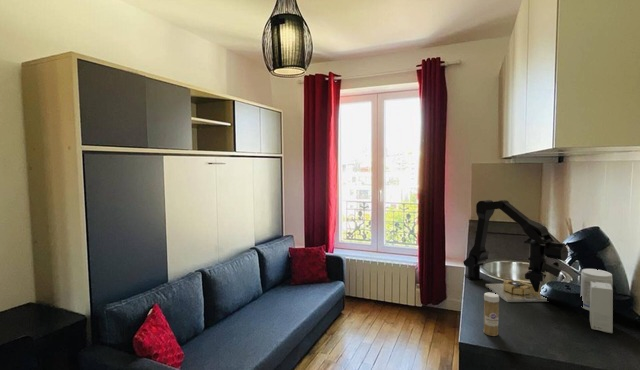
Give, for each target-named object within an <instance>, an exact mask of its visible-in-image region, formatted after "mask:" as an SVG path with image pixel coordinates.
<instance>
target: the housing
mask: <svg viewBox="0 0 640 370" xmlns="http://www.w3.org/2000/svg"><path fill="white" fill-rule="evenodd" d="M518 282H519V281H513V282H512V285H513V286H515V288H520V287H521V283H518ZM485 287H486V288H487V289H488V288H489V291H491V290H492V291H491V292H492V293H496V294H498V295H499V298H501V299H502V300H504V301H506V302H507V303H526V302H527V303H528V302H529V303H530V302H534V303H537V302H548V301H547V298H545V297H543V296H541V295H540V294H539V293H530V294H525V295H524V294H522V295H521V294H513V293H510V292H507V291H505V290H504V289H503V283H485Z"/></svg>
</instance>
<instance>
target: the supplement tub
mask: <svg viewBox="0 0 640 370" xmlns="http://www.w3.org/2000/svg"><path fill="white" fill-rule="evenodd" d="M597 269H598V268H597ZM597 269H596V268H583V269H581V274H580V297H581V296H582V301H583V307H582V309H584V310H587V311H588V312H590V282H591V281H592V282H600V283H608V284H611V286H612V287H613V281H614V280H613V274H612V273H611V272H609V271H606V270H602V269H598V270H597Z"/></svg>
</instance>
